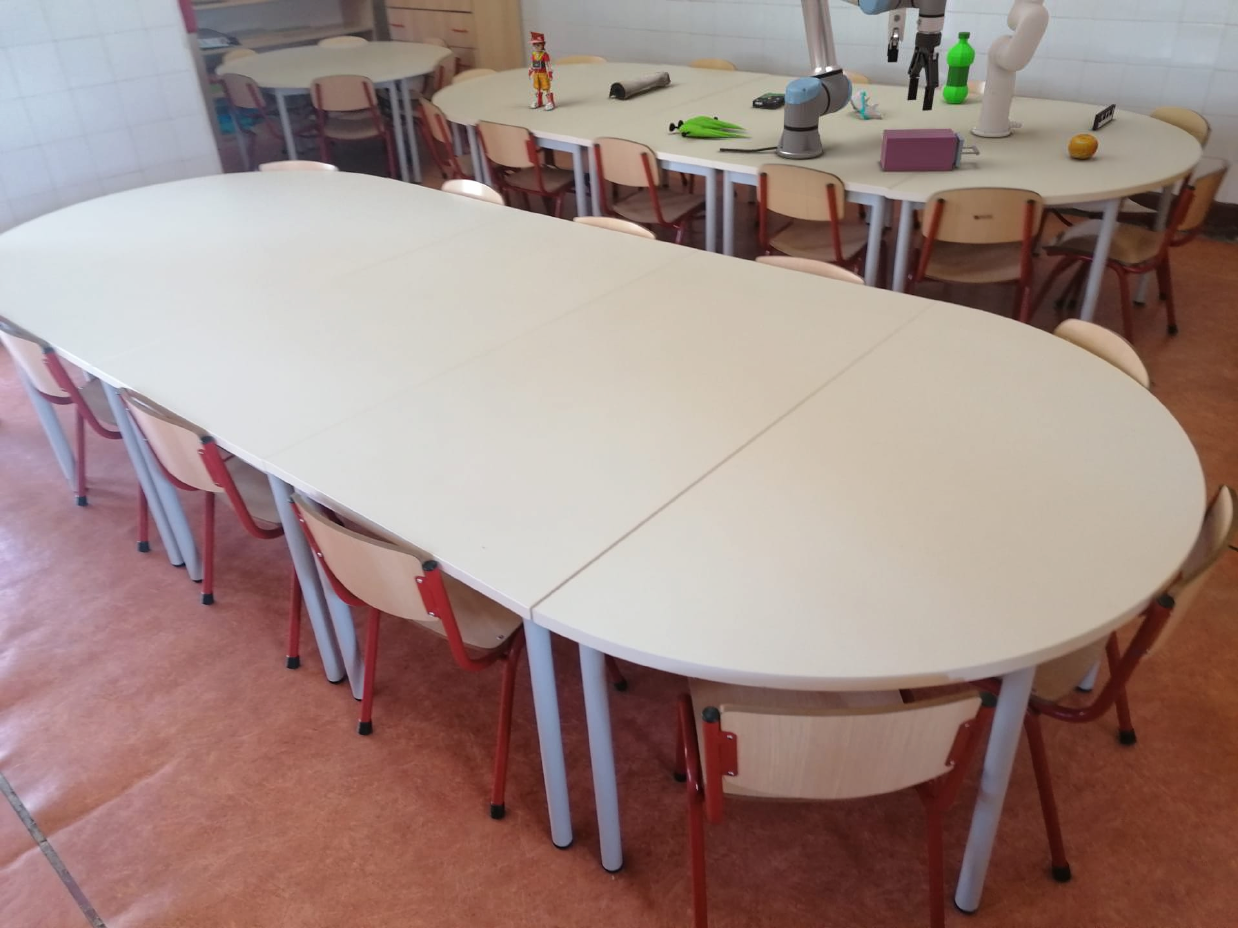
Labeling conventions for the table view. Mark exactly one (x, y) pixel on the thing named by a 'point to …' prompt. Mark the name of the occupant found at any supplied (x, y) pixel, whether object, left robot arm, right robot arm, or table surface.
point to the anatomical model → (864, 105)
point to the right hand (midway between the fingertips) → (892, 59)
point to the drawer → (960, 147)
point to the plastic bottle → (958, 69)
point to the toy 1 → (541, 71)
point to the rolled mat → (638, 84)
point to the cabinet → (917, 149)
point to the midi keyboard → (1103, 116)
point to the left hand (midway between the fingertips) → (919, 105)
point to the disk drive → (769, 100)
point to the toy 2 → (705, 127)
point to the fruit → (1082, 146)
